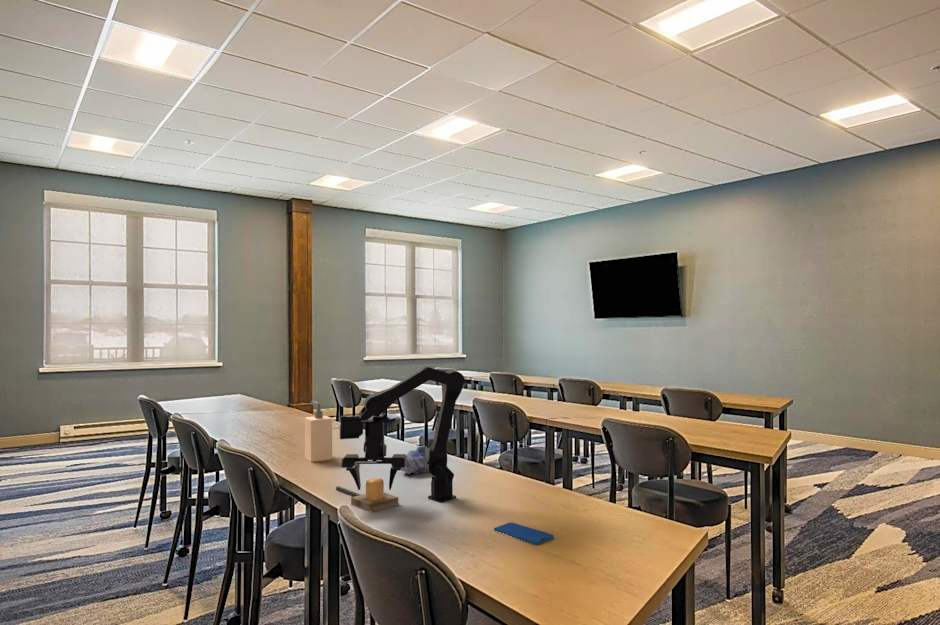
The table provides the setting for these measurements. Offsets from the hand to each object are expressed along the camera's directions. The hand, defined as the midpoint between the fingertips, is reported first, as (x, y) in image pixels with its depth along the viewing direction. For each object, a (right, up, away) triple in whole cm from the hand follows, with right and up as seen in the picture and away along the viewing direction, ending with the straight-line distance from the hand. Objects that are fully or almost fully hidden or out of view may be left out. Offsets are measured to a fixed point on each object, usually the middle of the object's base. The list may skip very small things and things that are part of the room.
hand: (374, 489), depth 173 cm
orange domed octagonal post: (0, -2, 0) cm, 2 cm away
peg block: (0, -4, 0) cm, 4 cm away
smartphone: (+42, -4, -25) cm, 49 cm away
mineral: (+9, -5, +37) cm, 39 cm away
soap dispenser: (-33, -6, +60) cm, 69 cm away
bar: (-9, -5, +9) cm, 14 cm away
